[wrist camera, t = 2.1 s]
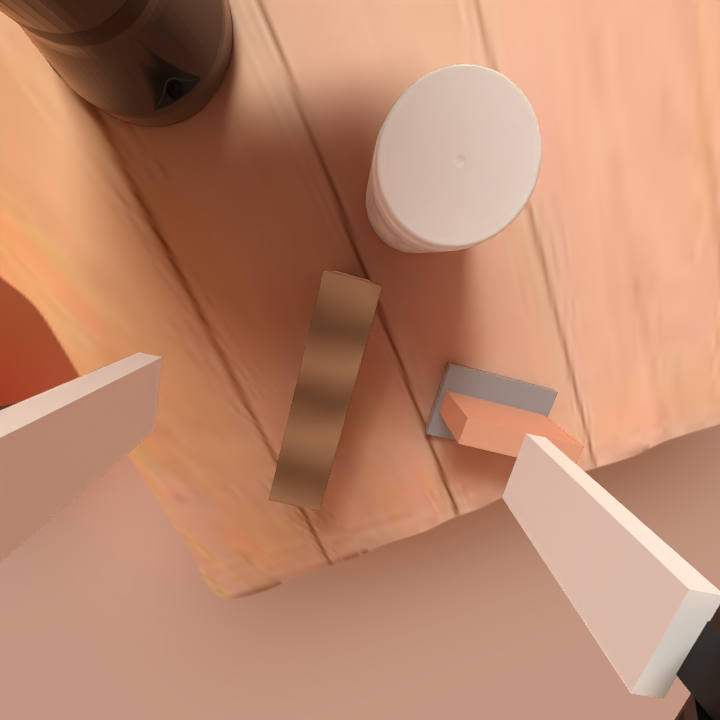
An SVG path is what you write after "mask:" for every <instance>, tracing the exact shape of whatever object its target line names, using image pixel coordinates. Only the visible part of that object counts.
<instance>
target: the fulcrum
mask: <svg viewBox="0 0 720 720" xmlns="http://www.w3.org/2000/svg"><path fill="white" fill-rule="evenodd" d="M557 393H558V392H556V391H555V390H553V389H550V388H546V387H542V386H538V385H534V384H530V383H526V382H522V381H519V380H515V379H511V378H507V377H503V376H499V375H495V374H492V373H488V372H484V371H480V370H476V369H472V368H468V367H465V366H461V365H457V364H453V363H449V362H448V363H447V366H446V369H445V372H444V375H443V378H442V381H441V384H440V387H439V390H438V393H437V396H436V399H435V402H434V405H433V408H432V410H431V413H430V416H429V419H428V422H427V425H426V428H425V431H426V434H429V435H433V436H437V437H441V438H445V439H450V440H454V441H457V442H458V444H462V445H466V446H470V447H475V448H479V449H483V450H487V451H491V452H496V453H500V454H504V455H508V456H512V457H518V454H519V451H520V449H521V446H522V443H523V441H524V438H525V435H526V433H527V434H531V435H536V436H541V437H546V438H547V439H548V440H549V441H550V442H551V443H552V444H554V445H555V446H556V447H557V448H558V449H559V450H560V451H562V452H563V453H564V454H565V455H566V456H567V457H568V458H569V459H571V460H572V461H573V462H574V463H575V464H576V463H577V461H578V459H579V457H580V454H581V452H582V450H583V448H584V446H583V445H582V444H580V443H579V442H578V441H576V440H575V439H574V438H573V437H571V436H570V435H569V434H567V433H566V432H565V431H564V430H562V429H561V428H560V427H558V426H557V425H556V424H555V423H553V422H552V421H551V420H549V419H548V418H547V416H548V414H549V412H550V409H551V407H552V405H553V402H554V400H555V398H556V395H557Z"/></svg>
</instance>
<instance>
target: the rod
mask: <svg viewBox="0 0 720 720" xmlns="http://www.w3.org/2000/svg"><path fill="white" fill-rule="evenodd" d="M381 289H382V286H380V285H379V284H377V283H373V282H370V281H366V280H363V279H359V278H355V277H352V276H348V275H344V274H341V273H337V272H333V271H330V270H324V271H323V274H322V278H321V282H320V287H319V291H318V295H317V299H316V303H315V308H314V312H313V316H312V320H311V325H310V329H309V333H308V337H307V341H306V346H305V350H304V354H303V358H302V362H301V367H300V371H299V375H298V379H297V384H296V388H295V392H294V396H293V400H292V405H291V409H290V413H289V417H288V421H287V426H286V430H285V434H284V438H283V443H282V447H281V451H280V455H279V459H278V464H277V468H276V472H275V476H274V480H273V485H272V489H271V493H270V497H269V500H271V501H276V502H280V503H285V504H290V505H295V506H299V507H304V508H309V509H314V510H318V511H320V507H321V504H322V500H323V496H324V493H325V489H326V486H327V482H328V478H329V475H330V471H331V468H332V464H333V461H334V457H335V453H336V450H337V446H338V443H339V439H340V435H341V432H342V428H343V425H344V421H345V418H346V414H347V410H348V407H349V403H350V400H351V396H352V392H353V389H354V385H355V382H356V378H357V375H358V371H359V367H360V364H361V360H362V357H363V353H364V350H365V346H366V342H367V339H368V335H369V332H370V328H371V324H372V321H373V317H374V314H375V310H376V307H377V303H378V299H379V296H380V292H381Z"/></svg>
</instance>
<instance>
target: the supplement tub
mask: <svg viewBox="0 0 720 720" xmlns="http://www.w3.org/2000/svg"><path fill="white" fill-rule="evenodd" d="M541 146H542V144H541V135H540V129H539V125H538V122H537V119H536V116H535V113H534V111H533V108H532V106H531V105H530V103H529V101H528V99H527V98H526V96H525V95H524V94H523V92H522V91H521V90H520V89H519V88H518V87H517V86H516V85H515V84H514V83H513V82H512V81H511V80H510V79H508V78H507V77H506V76H504V75H502V74H500V73H499V72H497V71H495V70H492V69H490V68H486V67H483V66H479V65H473V64H456V65H451V66H446V67H443V68H440V69H437V70H434V71H432V72H430V73H428V74H426V75H424V76H423V77H421V78H420V79H418V80H417V81H415V82H414V83H413V84H412V85H411V86H410V87H408V89H407V90H406V91H405V92H404V93H403V94H402V95H401V96H400V97H399V99H398V100H397V101H396V103H395V104H394V105H393V107H392V109H391V111H390V112H389V114H388V116H387V117H386V119H385V121H384V123H383V125H382V127H381V130H380V132H379V135H378V138H377V141H376V145H375V149H374V154H373V159H372V164H371V169H370V174H369V179H368V184H367V190H366V209H367V214H368V218H369V221H370V223H371V225H372V227H373V229H374V231H375V232H376V234H377V235H378V236H379V237H380V238H381V239H382V240H383V241H384V242H385V243H386V244H388V245H389V246H391V247H393V248H395V249H397V250H400V251H403V252H407V253H430V252H445V251H456V250H462V249H466V248H470V247H473V246H475V245H478V244H480V243H482V242H484V241H486V240H488V239H490V238H492V237H494V236H495V235H497V234H498V233H500V232H501V231H503V230H504V229H505V228H506V227H507V226H508V225H509V224H511V223H512V222H513V221H514V219H515V218H516V217H517V216H518V215H519V214H520V212H521V211H522V210H523V208H524V207H525V205H526V203H527V202H528V200H529V198H530V196H531V194H532V192H533V189H534V187H535V184H536V181H537V178H538V174H539V170H540V164H541Z"/></svg>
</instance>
